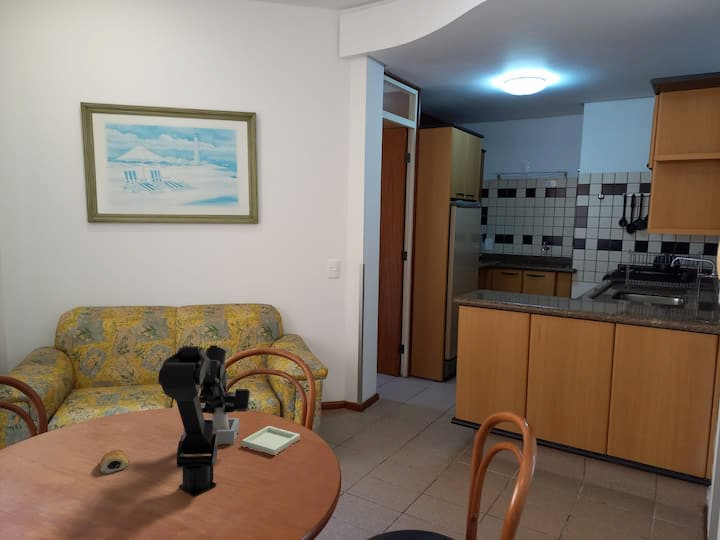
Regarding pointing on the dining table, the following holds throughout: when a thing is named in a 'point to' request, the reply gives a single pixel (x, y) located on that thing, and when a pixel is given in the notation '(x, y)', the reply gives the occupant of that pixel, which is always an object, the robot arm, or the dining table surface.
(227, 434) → the holder
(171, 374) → the robot arm
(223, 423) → the salt shaker
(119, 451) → the pastry
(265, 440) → the tray
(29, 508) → the dining table surface
